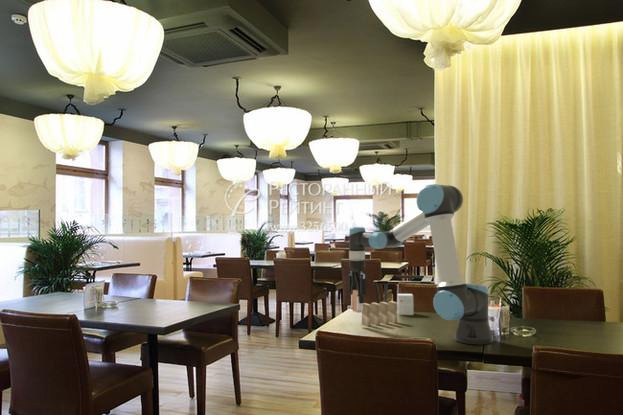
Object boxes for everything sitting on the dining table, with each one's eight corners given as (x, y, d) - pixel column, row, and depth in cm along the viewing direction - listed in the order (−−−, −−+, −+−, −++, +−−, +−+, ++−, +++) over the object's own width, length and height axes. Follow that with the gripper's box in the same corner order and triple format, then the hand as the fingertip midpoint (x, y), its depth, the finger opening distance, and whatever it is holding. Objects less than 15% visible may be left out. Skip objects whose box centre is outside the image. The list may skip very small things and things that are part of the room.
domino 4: (383, 322, 247) (383, 301, 248) (388, 324, 243) (388, 303, 243) (379, 322, 247) (379, 302, 247) (385, 324, 242) (385, 303, 242)
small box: (412, 313, 270) (412, 293, 271) (413, 315, 265) (413, 295, 265) (397, 313, 271) (397, 293, 271) (398, 315, 266) (398, 295, 266)
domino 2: (365, 324, 243) (365, 303, 243) (370, 326, 239) (370, 304, 239) (361, 324, 242) (361, 303, 243) (367, 326, 238) (367, 305, 238)
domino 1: (356, 310, 241) (356, 289, 242) (361, 312, 237) (361, 291, 237) (352, 310, 241) (352, 289, 241) (357, 312, 236) (357, 291, 236)
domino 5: (391, 321, 249) (391, 301, 250) (397, 323, 245) (397, 302, 245) (388, 321, 249) (388, 301, 249) (393, 323, 244) (393, 302, 244)
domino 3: (374, 323, 245) (374, 302, 245) (379, 325, 241) (379, 304, 241) (370, 323, 244) (370, 302, 245) (376, 325, 240) (376, 304, 240)
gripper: (373, 261, 232) (373, 311, 232) (354, 258, 249) (354, 305, 248) (359, 261, 229) (359, 312, 229) (341, 258, 246) (341, 306, 245)
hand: (356, 308), depth 239 cm, fingers closed on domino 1, 5 cm apart
